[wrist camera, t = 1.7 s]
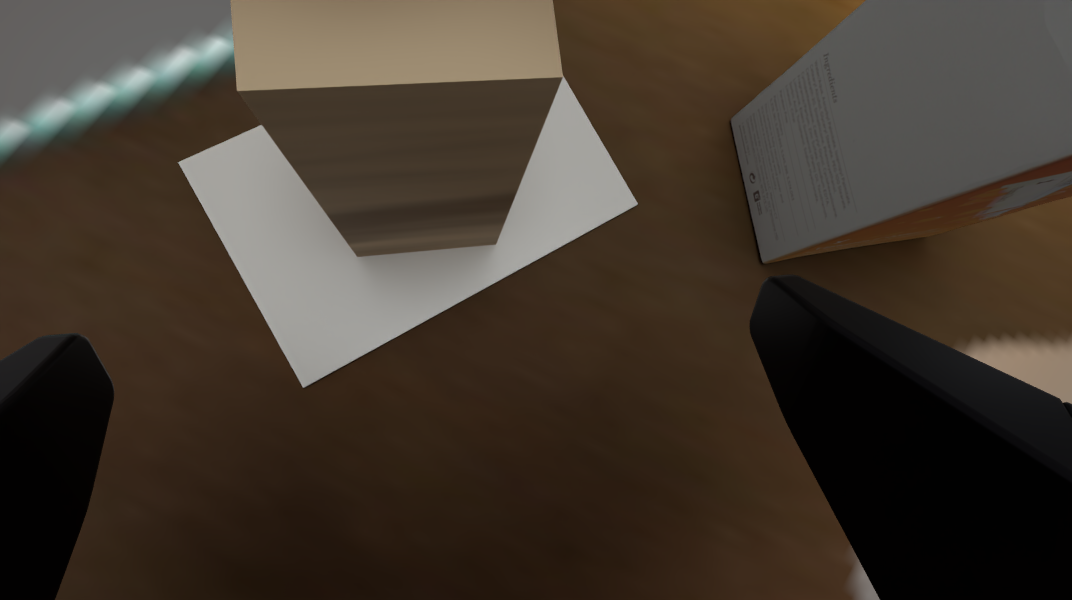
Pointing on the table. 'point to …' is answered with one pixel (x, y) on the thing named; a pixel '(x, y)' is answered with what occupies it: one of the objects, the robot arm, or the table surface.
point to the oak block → (402, 109)
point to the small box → (911, 125)
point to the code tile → (392, 279)
